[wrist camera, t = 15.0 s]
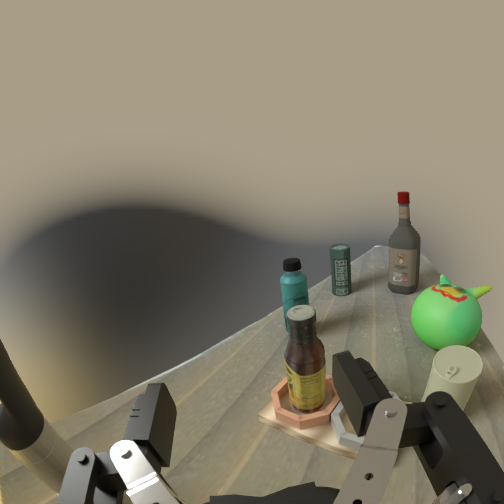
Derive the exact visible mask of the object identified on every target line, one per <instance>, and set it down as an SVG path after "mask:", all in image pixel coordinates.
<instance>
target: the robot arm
mask: <svg viewBox="0 0 504 504" xmlns="http://www.w3.org/2000/svg"><path fill="white" fill-rule="evenodd" d="M332 378H333V384H334V387H335V390H336V392H337V394H338V396H339V398H340V400H341V403H342V405H343V407H344V409H345V411H346V413H347V415H348V417H349V420H350V422H351V424H352V426H353V428H354V430H355V432H356V435H357V437H358V438H359V437H362V436H364V435H365V438H364V441H363V443H362V445H361V446H360V448H359V450H358V453H357V455H356V457H355V460H354V462H353V464H352V466H351V469H350V471H349V473H348V475H347V477H346V479H345V481H344V483H343V485H342V487H341V489H340V490H339V489H336V488H331V487H316V486H315V482H310V483H306V484H302V485H297V486H292V487H288V488H285V489H283V490H280V491H278V492H275V493H273V494H270V495H267V496H264V497H253V496H243V495H222V496H210V502H207V503H204V504H380V503H381V500H382V498H383V495H384V493H385V490H386V487H387V485H388V482H389V479H390V476H391V473H392V470H393V467H394V464H395V461H396V457H397V454H398V448H403V447H409V446H413V447H414V449H415V451H416V453H417V455H418V457H419V459H420V461H421V463H422V465H423V467H424V470H425V472H426V474H427V476H428V478H429V480H430V482H431V484H432V486H433V488H434V491H435V493H436V495H437V498H436V499H435V500H434V502H433V503H432V504H504V472H503V470H502V469H501V467H500V466H499V464H498V462H497V461H496V459H495V458H494V456H493V455H492V453H491V451H490V450H489V448H488V447H487V445H486V444H485V442H484V441H483V439H482V438H481V436H480V435H479V433H478V432H477V431H476V429H475V428H474V426H473V425H472V423H471V422H470V420H469V419H468V418H467V416H466V415H465V413H464V412H463V411H462V409H461V408H460V407H459V405H458V404H457V403H456V401H455V400H454V398H453V397H452V396H451V395H450V394H449V393H447V392H443V391H436V392H433V393H431V394H430V395H428V396H427V398H426V400H425V402H419V403H412V404H405V403H404V402H403V401H401V400H399V399H395V398H393V397H392V396H391V394H390V393H389V391H388V390H387V388H386V387H385V385H384V384H383V382H382V381H381V379H380V378H379V377H378V375H377V373H376V372H375V371H374V369H373V368H372V366H371V365H370V363H369V362H367V361H366V360H364V359H362V358H357V359H354V358H353V356H352V355H351V353H350V352H349V351H344V352H341V353H337V354H334V355H333V366H332ZM0 400H1V402H2V403H1V404H0V441H1V442H2V443H3V444H4V445H5V446H6V447H7V448H8V449H9V450H10V451H11V453H12V454H13V455H14V456H15V457H16V458H17V459H18V460H19V461H21V462H22V463H23V464H24V465H25V466H26V467H27V468H28V469H29V470H30V471H31V472H32V473H33V474H34V475H36V476H37V477H38V478H39V479H40V480H41V481H42V482H44V483H45V484H46V485H47V486H48V487H50V488H51V489H52V490H53V491H55V492H56V493H57V494H58V495H59V498H58V501H57V504H122V500H123V492H124V490H126V491H127V494H128V495H129V497H130V499H131V500H132V502H133V504H186V503H185V502H184V501H183V500H182V499H181V498H180V497H179V495H178V494H177V493H176V492H175V491H174V489H173V488H172V487H171V486H170V484H169V483H168V482H167V481H166V479H165V478H164V477H163V475H162V474H161V473H160V472H161V467H169V466H170V458H171V450H172V443H173V436H174V429H175V422H176V415H177V411H176V406H175V403H174V401H173V399H172V397H171V395H170V393H169V391H168V389H167V387H166V385H165V383H152V384H148V386H147V389H146V393H145V394H140V396H139V397H138V398H137V399H136V400H135V402H134V405H133V408H132V411H131V414H130V418H129V421H128V424H127V427H126V431H125V434H124V438H123V440H122V441H120V442H117V443H116V444H115V445H114V446H113V447H112V448H111V451H108V452H102V453H96V454H95V453H94V452H93V451H92V450H91V449H89V448H86V447H82V448H79V449H77V450H75V451H73V450H72V448H71V447H70V446H69V445H68V444H67V443H66V442H65V441H64V440H63V438H62V437H61V436H60V435H59V434H58V433H57V431H56V430H55V429H54V428H53V427H52V425H51V424H50V423H49V422H48V421H47V419H46V418H45V417H44V415H43V414H42V413H41V412H40V410H39V409H38V407H37V406H36V404H35V402H34V400H33V399H32V397H31V395H30V393H29V392H28V390H27V388H26V387H25V385H24V383H23V382H22V380H21V378H20V377H19V375H18V373H17V371H16V369H15V368H14V366H13V364H12V362H11V360H10V358H9V356H8V353H7V351H6V350H5V348H4V345H3V343H2V341H1V340H0Z"/></svg>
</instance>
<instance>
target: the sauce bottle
mask: <svg viewBox="0 0 504 504" xmlns="http://www.w3.org/2000/svg"><path fill="white" fill-rule="evenodd" d="M315 322H316V311H315V309H314V308H313V307H311V306H309V305H298V306H295V307H292V308H291V309H289V310H288V311H287V323H288V324H289V330H290V339H289V343H288V346H287V348H286V351H285V355H284V359H285V366H286V373H287V380H288V388H289V395H290V401H291V403H292V405H293V407H294V409H296V410H297V411H300V412H303V413H311V412H315V411H317V410H319V409H320V408H321V407H322V405H323V404H324V401H325V395H326V367H325V357H324V353H325V350H324V346H323V343H322V342H321V340H320V339H318V337H317V336H316V330H315Z"/></svg>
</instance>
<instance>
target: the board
mask: <svg viewBox="0 0 504 504" xmlns="http://www.w3.org/2000/svg"><path fill="white" fill-rule="evenodd" d="M332 399H333V397H332V394H331V392H330V390H329V389H327V388H326V395H325V401H324V404H323V405H322V407H321V408H320V409H319V410H317V411H315V412H319V411H323V410H325V409H326V408H327V406H328V405H329V404H330V402H331V401H332ZM279 402H280V406H281V408H283V409H285V410H287V411H290V412H292V413H295V414H297V415H300V416H303V415H307V414H311V413H315V412H311V413H303V412H300V411H297V410H296V409H294V407H293V405H292V403H291V401H290V395H289V391H288V392H287V393H286V394H285V395H284V396H283V397H282V398H281V399H280V400H279ZM403 402H404V403H405V404H412V403H411V402H406V401H403ZM258 417H259V421H261V422H263V423H265V424H268V425H270V426H272V427H274V428H276V429H278V430H280V431H283V432H285V433H287V434H289V435H292V436H294V437H296V438H298V439H301V440H303V441H306V442H308V443H311V444H313V445H316V446H318V447H321V448H323V449H326V450H329V451H332V452H334V453H337V454H340V455H343V456H346V457H349V458H352V459H355V457H356V455H357V453H358V450H354V449H351V448H348V447H345V446H342V445H339V443H338V440H337V438H336V435H335V433H334V430H333V428H332V425H331V420H330V422H329V423H326V424H322V425H318V426H314V427H310V428H306V429H302V430H299V429H297V428H295V427H292V426H290V425H288V424H285V423H283V422H281V421H279V420H277V419H276V415H275V410H274V406H273V401H271V402H270V403H269V404H268V405H267V406H266V407H265V408H264V409H263V410H262V411H261V412H260V413H258ZM341 422H342V424H343V426H344V428H345V431H346V432H347V433H350V434H354V435H356V432H355V430H354V428H353V426H352V424H351V422H350V420H349V417H348V415H347V413H346V411H345V413H344V415H343V416H342V418H341ZM362 437H364V438H365V435H364V436H362Z"/></svg>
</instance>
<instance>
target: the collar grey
mask: <svg viewBox="0 0 504 504" xmlns="http://www.w3.org/2000/svg"><path fill="white" fill-rule="evenodd" d="M389 393H390V394H391V396H392V397H393V398H395V399H399V400H400V398H399V397H398V395H397V394H396V392H392V391H389ZM344 413H345V409H344V407H343V405H342V403H341V401H340V402H339V404H338V405H337V407H336V408H335V410H334V411H333V412H332V414H331V425H332V428H333V430H334V433H335V435H336V438H337V440H338V443H339V445H342V446H345V447H348V448H351V449H354V450H359V448H360V446H361V445H362V443H363V441H364V437H359V438H358V437H357V435H354V434H350V433H347V432H346V431H345V428H344V426H343V424H342V422H341V418H342V416H343V415H344Z"/></svg>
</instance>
